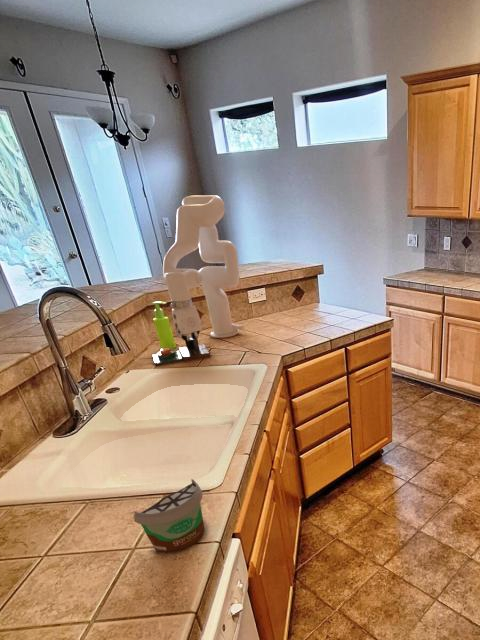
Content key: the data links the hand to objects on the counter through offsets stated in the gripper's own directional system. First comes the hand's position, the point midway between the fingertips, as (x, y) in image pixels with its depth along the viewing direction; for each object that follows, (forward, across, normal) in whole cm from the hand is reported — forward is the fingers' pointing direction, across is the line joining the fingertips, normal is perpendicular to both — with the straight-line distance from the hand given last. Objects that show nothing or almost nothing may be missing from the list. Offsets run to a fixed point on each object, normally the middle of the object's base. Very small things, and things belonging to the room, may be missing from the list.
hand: (193, 348), depth 181 cm
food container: (+3, -80, -91) cm, 122 cm away
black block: (+1, 0, 0) cm, 1 cm away
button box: (+3, -9, +6) cm, 11 cm away
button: (0, -9, +6) cm, 11 cm away
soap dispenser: (+3, +3, +20) cm, 20 cm away
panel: (+3, 0, 0) cm, 3 cm away
